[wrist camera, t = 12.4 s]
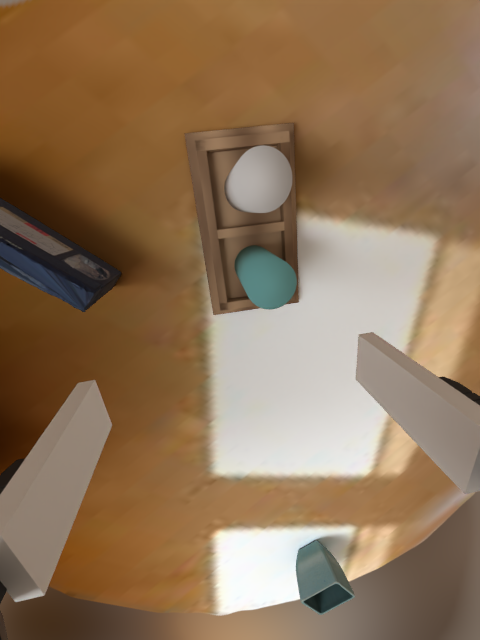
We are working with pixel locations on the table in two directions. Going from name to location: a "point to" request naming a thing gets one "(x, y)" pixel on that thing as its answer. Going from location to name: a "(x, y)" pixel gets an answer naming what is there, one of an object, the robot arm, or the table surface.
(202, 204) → the rack
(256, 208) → the white cylinder
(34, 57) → the table surface
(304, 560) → the flower pot
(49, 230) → the vhs cassette tape
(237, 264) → the teal rounded cylinder
